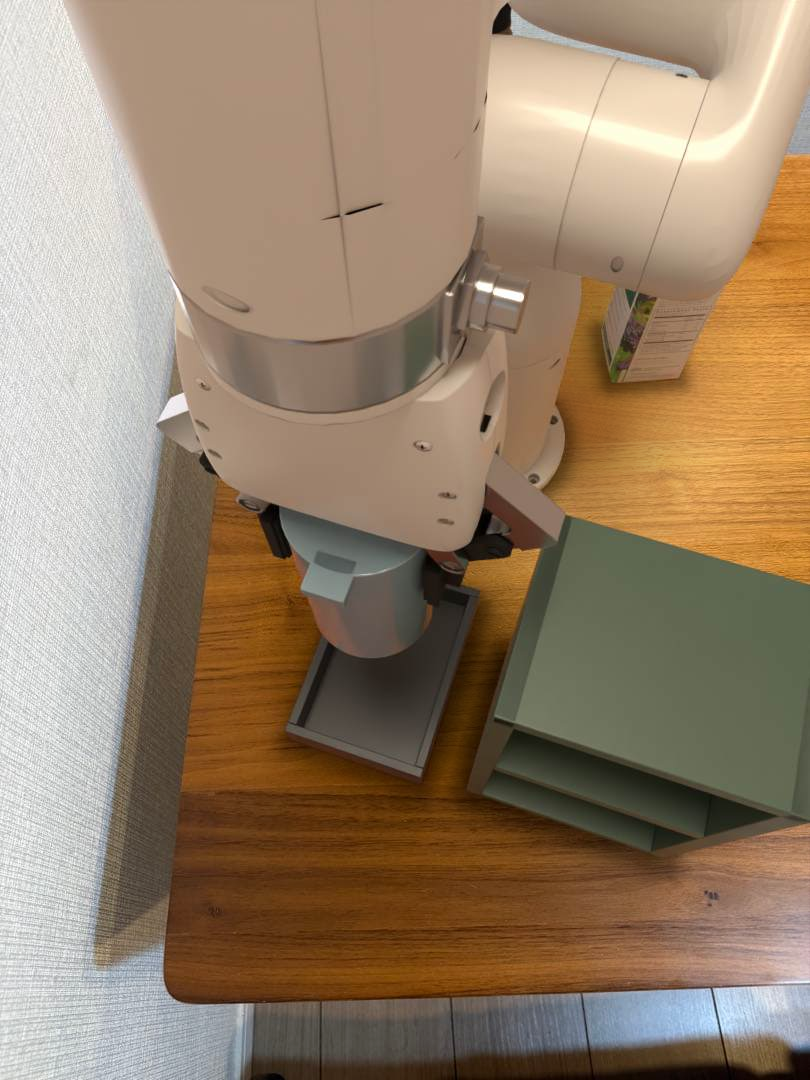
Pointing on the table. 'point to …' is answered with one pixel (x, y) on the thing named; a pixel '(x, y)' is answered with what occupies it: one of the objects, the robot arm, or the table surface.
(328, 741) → the tray
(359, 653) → the jug
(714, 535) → the table surface
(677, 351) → the syrup box
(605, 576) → the shelf
